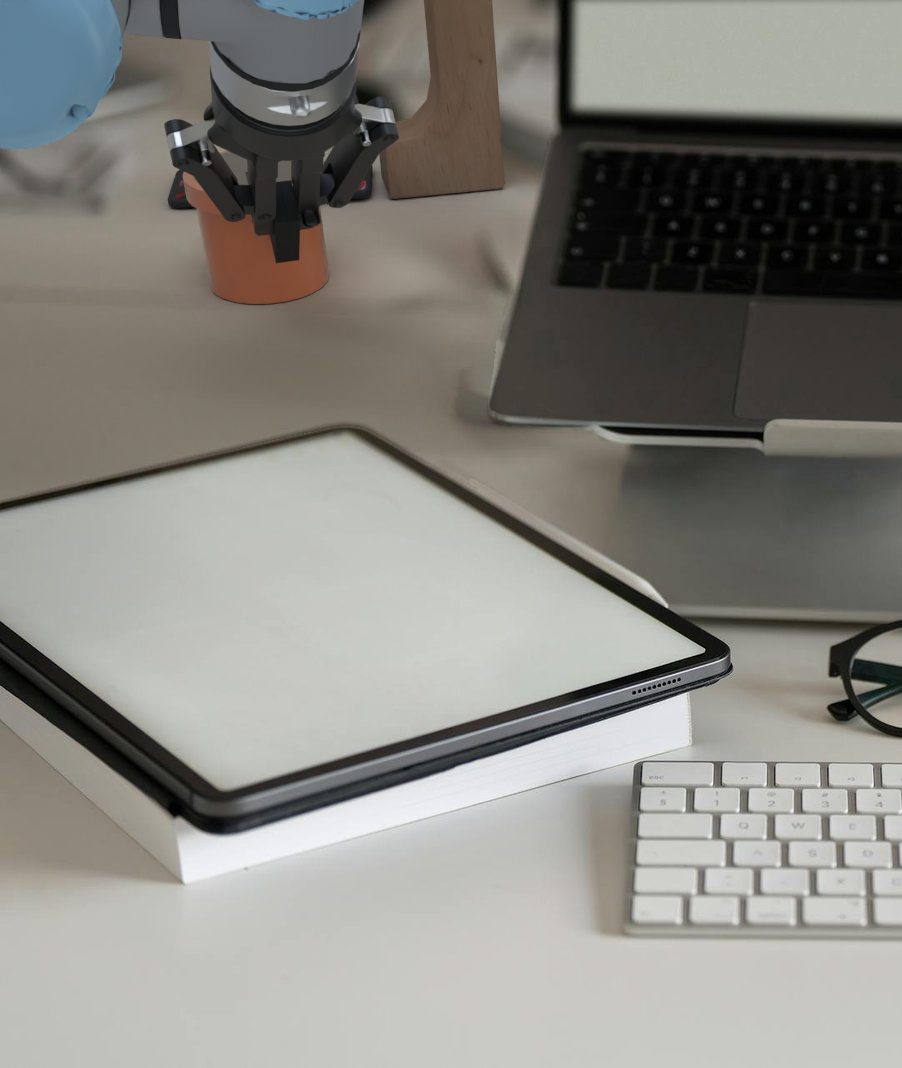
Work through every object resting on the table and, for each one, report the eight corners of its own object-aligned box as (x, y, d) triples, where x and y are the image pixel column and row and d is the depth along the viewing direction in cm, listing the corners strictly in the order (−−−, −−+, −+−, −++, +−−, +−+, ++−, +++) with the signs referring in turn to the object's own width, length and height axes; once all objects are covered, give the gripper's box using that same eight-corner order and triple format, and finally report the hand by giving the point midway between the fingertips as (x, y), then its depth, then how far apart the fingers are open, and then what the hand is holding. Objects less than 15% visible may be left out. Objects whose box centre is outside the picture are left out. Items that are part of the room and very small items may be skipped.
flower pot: (185, 306, 114) (164, 191, 110) (222, 252, 122) (204, 143, 117) (320, 308, 114) (304, 194, 110) (348, 255, 122) (335, 145, 118)
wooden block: (389, 201, 131) (363, -38, 121) (381, 180, 134) (355, -54, 124) (505, 189, 133) (489, -46, 123) (494, 169, 137) (478, -61, 127)
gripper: (169, 146, 87) (191, 310, 109) (422, 117, 91) (395, 281, 113) (140, 14, 88) (168, 203, 110) (392, -8, 93) (370, 178, 115)
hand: (283, 242), depth 112 cm, fingers closed
